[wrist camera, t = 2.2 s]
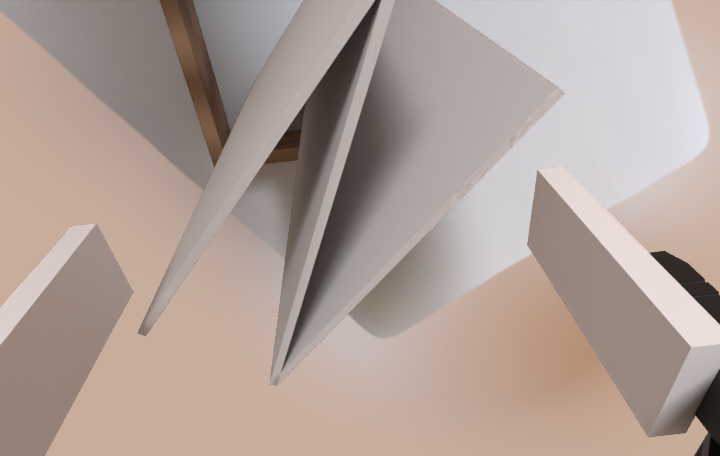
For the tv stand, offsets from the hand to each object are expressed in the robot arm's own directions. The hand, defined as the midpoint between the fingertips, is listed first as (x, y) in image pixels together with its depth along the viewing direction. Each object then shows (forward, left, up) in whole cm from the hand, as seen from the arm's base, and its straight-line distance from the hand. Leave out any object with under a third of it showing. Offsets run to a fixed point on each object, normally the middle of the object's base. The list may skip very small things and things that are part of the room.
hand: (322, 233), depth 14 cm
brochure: (0, 0, -30) cm, 30 cm away
